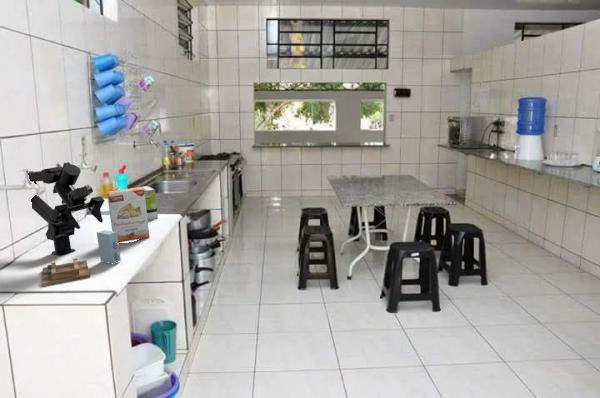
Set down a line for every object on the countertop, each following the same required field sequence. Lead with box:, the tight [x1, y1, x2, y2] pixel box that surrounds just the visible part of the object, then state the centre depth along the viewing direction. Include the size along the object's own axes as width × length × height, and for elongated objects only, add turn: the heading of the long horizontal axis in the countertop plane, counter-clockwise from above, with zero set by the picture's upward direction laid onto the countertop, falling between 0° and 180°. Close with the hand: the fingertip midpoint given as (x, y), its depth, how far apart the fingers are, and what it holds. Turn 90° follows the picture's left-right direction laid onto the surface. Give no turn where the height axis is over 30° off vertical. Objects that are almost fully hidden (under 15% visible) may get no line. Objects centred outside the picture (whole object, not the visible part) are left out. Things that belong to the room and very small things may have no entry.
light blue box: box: [96, 229, 122, 265], centre depth 170 cm, size 8×3×11 cm, turn 58°
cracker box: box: [106, 187, 150, 244], centre depth 198 cm, size 14×6×21 cm, turn 118°
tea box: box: [128, 185, 159, 221], centre depth 238 cm, size 15×10×15 cm, turn 30°
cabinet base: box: [41, 258, 91, 288], centre depth 162 cm, size 18×14×3 cm
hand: (91, 225), depth 174 cm, fingers open, 9 cm apart
